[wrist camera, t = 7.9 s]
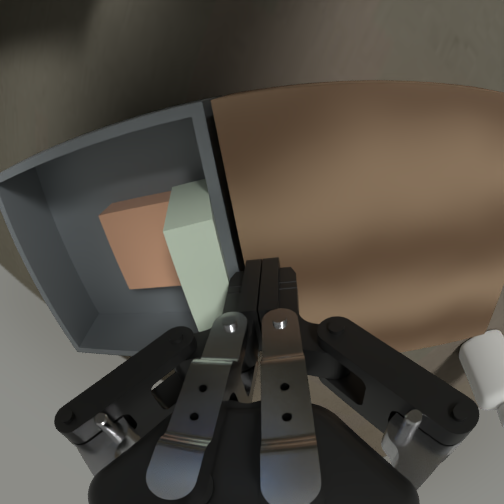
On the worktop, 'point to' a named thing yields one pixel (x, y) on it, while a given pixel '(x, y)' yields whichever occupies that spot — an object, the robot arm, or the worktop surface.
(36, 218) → the box
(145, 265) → the terracotta tile
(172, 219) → the sage tile
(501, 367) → the eye dropper bottle
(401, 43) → the worktop surface
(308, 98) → the wood grain case
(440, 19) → the worktop surface
